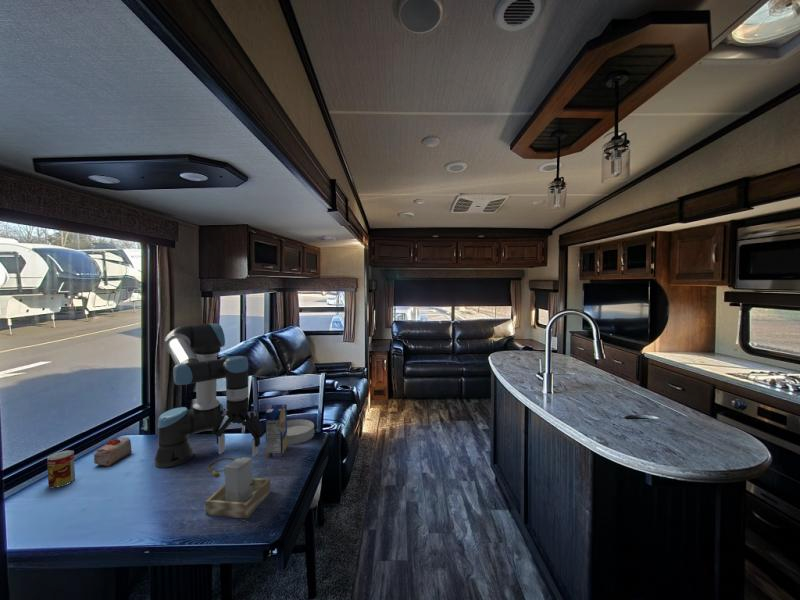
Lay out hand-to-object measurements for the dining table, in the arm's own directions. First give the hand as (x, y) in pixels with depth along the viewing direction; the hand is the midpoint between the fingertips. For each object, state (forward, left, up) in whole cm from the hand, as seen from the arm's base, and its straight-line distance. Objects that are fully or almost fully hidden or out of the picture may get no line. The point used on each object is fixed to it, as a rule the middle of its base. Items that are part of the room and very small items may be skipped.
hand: (238, 453), depth 128 cm
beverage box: (-5, +39, -19) cm, 43 cm away
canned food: (-82, +3, -19) cm, 84 cm away
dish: (-5, +58, -20) cm, 61 cm away
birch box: (0, 0, -19) cm, 19 cm away
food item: (-78, +22, -19) cm, 84 cm away
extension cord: (-23, +22, -20) cm, 37 cm away
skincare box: (0, 0, -18) cm, 18 cm away
